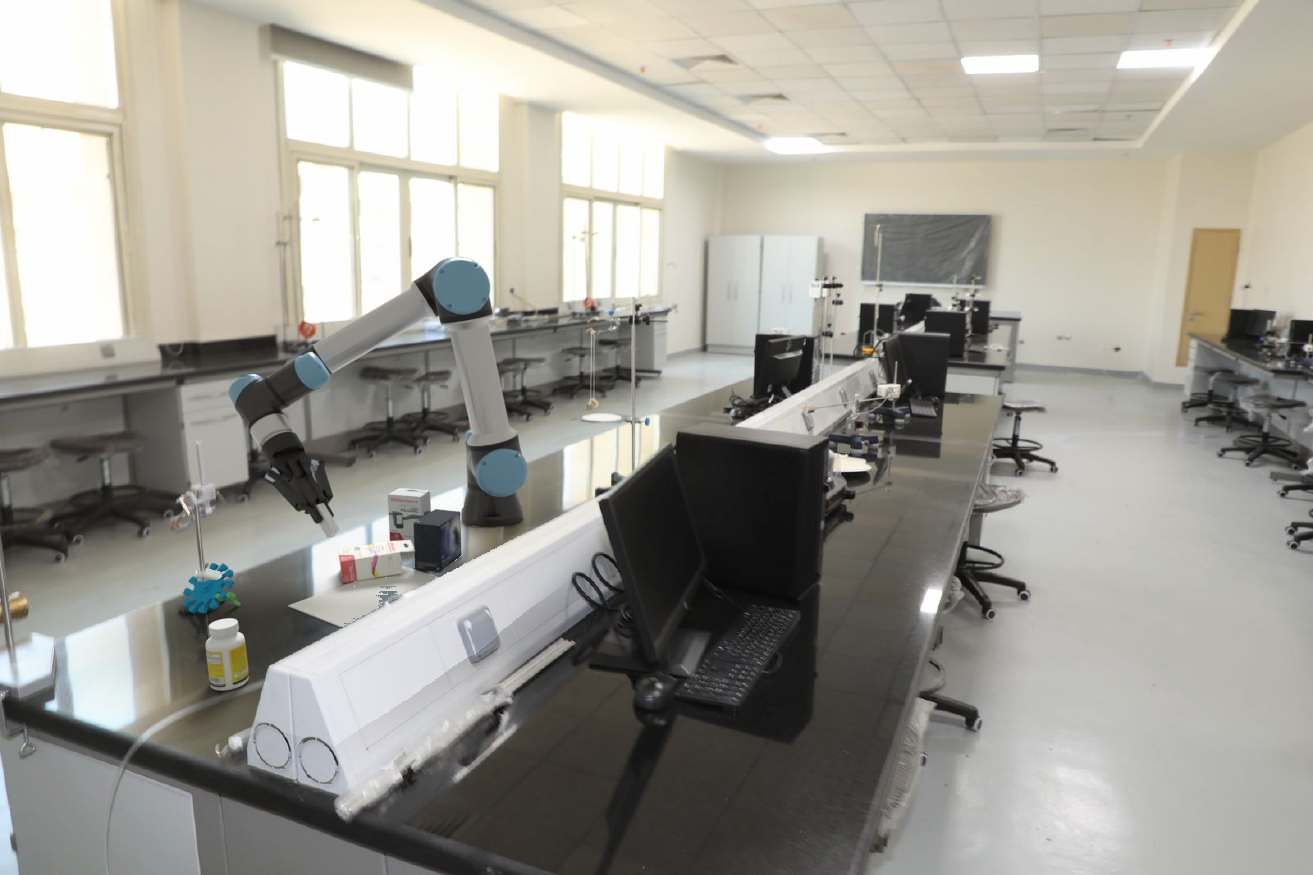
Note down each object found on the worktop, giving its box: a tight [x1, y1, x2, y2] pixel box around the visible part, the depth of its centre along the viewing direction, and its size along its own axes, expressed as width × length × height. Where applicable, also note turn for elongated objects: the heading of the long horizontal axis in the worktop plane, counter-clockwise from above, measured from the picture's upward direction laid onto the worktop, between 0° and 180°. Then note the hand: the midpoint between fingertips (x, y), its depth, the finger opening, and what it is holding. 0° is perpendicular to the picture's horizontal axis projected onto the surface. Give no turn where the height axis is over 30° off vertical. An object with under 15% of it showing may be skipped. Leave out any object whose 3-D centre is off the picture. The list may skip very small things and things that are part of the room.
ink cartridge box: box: [337, 540, 415, 584], centre depth 175 cm, size 9×5×15 cm
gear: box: [182, 562, 242, 615], centre depth 158 cm, size 11×6×10 cm
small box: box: [413, 508, 463, 573], centre depth 180 cm, size 11×6×10 cm, turn 169°
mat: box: [287, 564, 437, 628], centre depth 163 cm, size 26×18×1 cm
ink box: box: [387, 487, 432, 546], centre depth 193 cm, size 9×5×12 cm, turn 78°
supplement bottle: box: [205, 617, 250, 692], centre depth 128 cm, size 5×5×10 cm
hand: (333, 533), depth 168 cm, fingers closed
